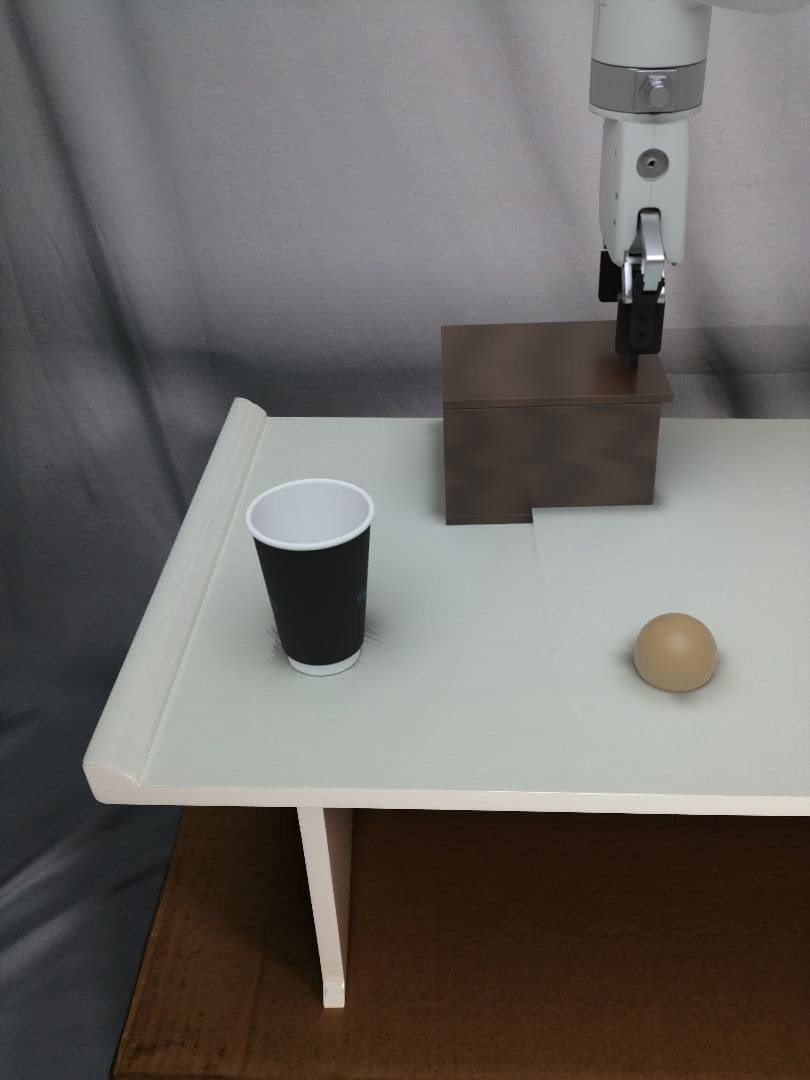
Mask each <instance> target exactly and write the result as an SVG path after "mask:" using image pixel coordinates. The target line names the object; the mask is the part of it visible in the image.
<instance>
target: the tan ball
mask: <svg viewBox="0 0 810 1080" xmlns="http://www.w3.org/2000/svg"><path fill="white" fill-rule="evenodd" d="M718 656H719V655H718V646H717V642H716V639H715V637H714V635H713V633H712V632H711V630H710V629H709V627H708V626H707V625H706V624H704V622H702V621H701V620H700V619H698V618H697V617H695V616H692V615H690V614H688V613H687V614H686V613H683V612H667V613H663V614H659V615H657V616H655V617H653V618H651V619H649V620H648V621H647V622H646V623H645V624H644V626H642V628H641V629H640V630H639V632H638V634H637V635H636V638H635V641H634V644H633V659H634V660H633V661H634V665H635V667H636V671H637V672H638V674H639V676H640V677H641V679H643V680H644V681H645V682H646V683H648V684H649V685H651V686H652V687H653V688H656V689H660V690H663V691H667V692H673V693H685V692H691V691H695V690H697V689H700V688H701V687H703V686H705V684H706V683H708V682H709V680H710V679H711V677H712V676H713V674H714V672H715V670H716V668H717V662H718Z"/></svg>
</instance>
